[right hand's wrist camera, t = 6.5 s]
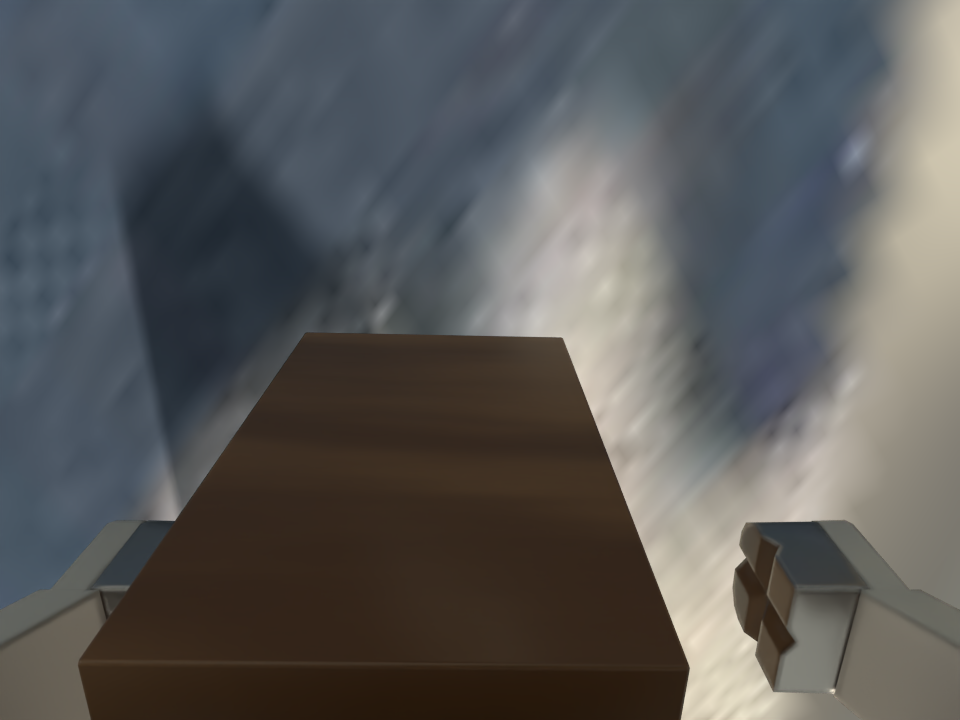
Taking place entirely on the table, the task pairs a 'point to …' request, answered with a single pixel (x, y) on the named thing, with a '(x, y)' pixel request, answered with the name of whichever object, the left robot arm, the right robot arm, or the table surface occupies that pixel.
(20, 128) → the table surface
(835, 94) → the table surface
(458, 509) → the bar
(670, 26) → the table surface
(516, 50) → the table surface
